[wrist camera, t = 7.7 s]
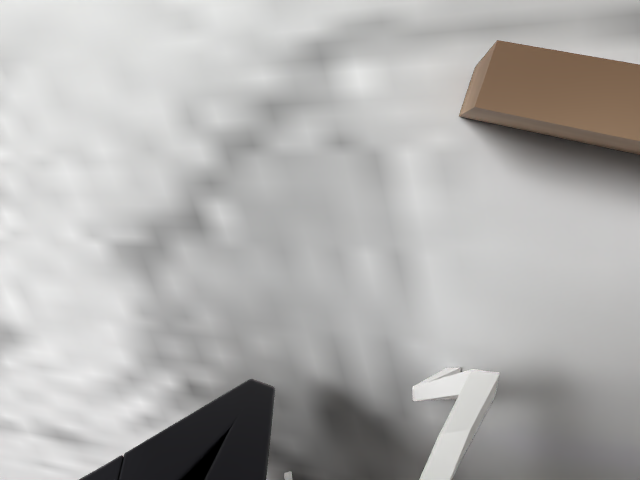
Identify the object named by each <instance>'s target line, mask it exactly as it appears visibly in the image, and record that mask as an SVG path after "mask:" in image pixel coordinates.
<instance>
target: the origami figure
mask: <svg viewBox="0 0 640 480" xmlns="http://www.w3.org/2000/svg"><path fill="white" fill-rule="evenodd" d="M460 370H461V368H445V369H443V370H442V371H440V372H438V373H436V374H434V375H433V376H431V377H429V378H427V379H425V380H424V381H422V382H420V383H418V384H417V385H415V386H413V387H412V388H413V401H427V400H447V399H457V400H456V402H455V404H454V406H453V408H452V410H451V412H450V414H449V416H448V418H447V420H446V422H445V424H444V426H443V428H442V430H441V432H440V434H439V436H438V438H437V440H436V443H435V445H434V447H433V450H432V452H431V454H430V456H429V459H428V461H427V463H426V465H425V468H424V470H423V472H422V474H421V477H420V479H419V480H452V479H453V477H454V475H455V472H456V470H457V468H458V466H459V464H460V462H461V460H462V458H463V456H464V455H465V453H466V451H467V449H468V447H469V445H470V443H471V441H472V440H473V438H474V436H475V434H476V432H477V430H478V428H479V426H480V424H481V423H482V421H483V419H484V417H485V415H486V413H487V411H488V409H489V407H490V406H491V404H492V402H493V400H494V398H495V395H496V390H497V385H498V381H499V376H500V373H499V372H491V371H484V370H476V369H470V370H467V371H464V372H460ZM284 480H293V479H292V472H291V471H290V472H287V473H284Z"/></svg>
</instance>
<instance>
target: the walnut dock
mask: <svg viewBox="0 0 640 480" xmlns="http://www.w3.org/2000/svg"><path fill="white" fill-rule="evenodd" d="M459 116H460V117H465V118H469V119H474V120H479V121H483V122H488V123H493V124H497V125H502V126H507V127H511V128H516V129H521V130H526V131H530V132H535V133H540V134H544V135H549V136H554V137H558V138H563V139H568V140H572V141H577V142H582V143H586V144H591V145H596V146H601V147H605V148H610V149H615V150H619V151H624V152H629V153H633V154H638V155H640V65H638V64H632V63H626V62H621V61H615V60H609V59H603V58H597V57H592V56H586V55H580V54H574V53H568V52H562V51H557V50H551V49H545V48H539V47H533V46H528V45H522V44H516V43H510V42H504V41H498V40H497V41H496V42H495V44H494V45H493V46H492V47H491V49H490V50H489V51H488V52H487V53H486V55H485V56H484V57H483V58H482V59H481V61H480V62H479V63H478V64H477V65H476V67H475V69H474V72H473V75H472V78H471V81H470V84H469V87H468V90H467V93H466V96H465V99H464V102H463V105H462V108H461V111H460V114H459Z"/></svg>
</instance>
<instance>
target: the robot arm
mask: <svg viewBox="0 0 640 480" xmlns="http://www.w3.org/2000/svg"><path fill="white" fill-rule="evenodd" d="M274 397H275V388H274V387H273V386H270V385H267V384H265V383H262V382H259V381H257V380H254V379H250V380H248V381H246V382H244V383H243V384H241V385H239V386H238V387H236V388H234V389H232V390H231V391H229V392H227V393H226V394H224V395H222V396H221V397H219V398H217V399H216V400H214V401H212V402H211V403H209V404H207V405H205V406H204V407H202V408H200V409H199V410H197V411H195V412H194V413H192V414H190V415H189V416H187V417H185V418H184V419H182V420H180V421H178V422H177V423H175V424H173V425H172V426H170V427H168V428H167V429H165V430H163V431H162V432H160V433H158V434H157V435H155V436H153V437H151V438H150V439H148V440H146V441H145V442H143V443H141V444H140V445H138V446H136V447H135V448H133V449H131V450H130V451H128V452H126V453H125V454H124V457H123V456H119V457H117V458H116V459H114V460H112V461H111V462H109V463H107V464H106V465H104V466H102V467H100V468H99V469H97V470H95V471H93V472H92V473H90V474H88V475H86V476H84V477H83V478H81V479H79V480H266V475H267V466H268V456H269V446H270V436H271V426H272V416H273V406H274Z"/></svg>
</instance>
